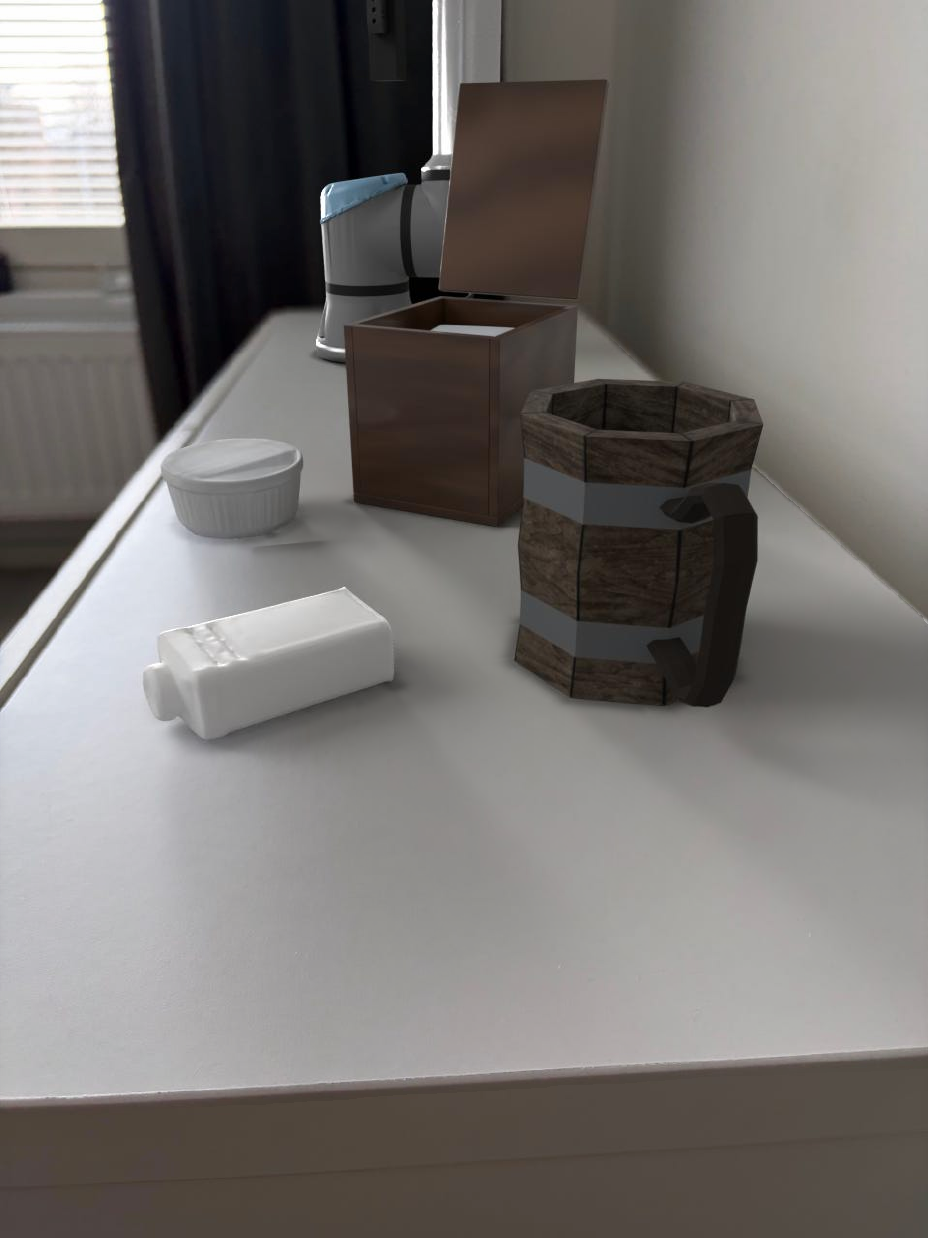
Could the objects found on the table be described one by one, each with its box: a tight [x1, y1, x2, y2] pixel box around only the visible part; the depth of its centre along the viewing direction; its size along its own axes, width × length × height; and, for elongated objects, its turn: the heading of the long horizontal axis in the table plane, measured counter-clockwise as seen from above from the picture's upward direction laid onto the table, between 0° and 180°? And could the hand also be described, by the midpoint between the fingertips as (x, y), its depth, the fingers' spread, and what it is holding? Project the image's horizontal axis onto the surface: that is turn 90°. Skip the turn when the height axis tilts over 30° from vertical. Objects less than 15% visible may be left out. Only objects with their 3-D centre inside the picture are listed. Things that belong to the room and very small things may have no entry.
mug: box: [513, 378, 764, 708], centre depth 53 cm, size 20×14×15 cm
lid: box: [438, 78, 610, 302], centre depth 84 cm, size 18×14×1 cm
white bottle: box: [142, 586, 395, 741], centre depth 53 cm, size 6×13×4 cm, turn 123°
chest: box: [344, 295, 579, 527], centre depth 83 cm, size 17×14×15 cm
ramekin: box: [160, 438, 304, 540], centre depth 78 cm, size 11×11×5 cm
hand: (388, 80), depth 83 cm, fingers closed
